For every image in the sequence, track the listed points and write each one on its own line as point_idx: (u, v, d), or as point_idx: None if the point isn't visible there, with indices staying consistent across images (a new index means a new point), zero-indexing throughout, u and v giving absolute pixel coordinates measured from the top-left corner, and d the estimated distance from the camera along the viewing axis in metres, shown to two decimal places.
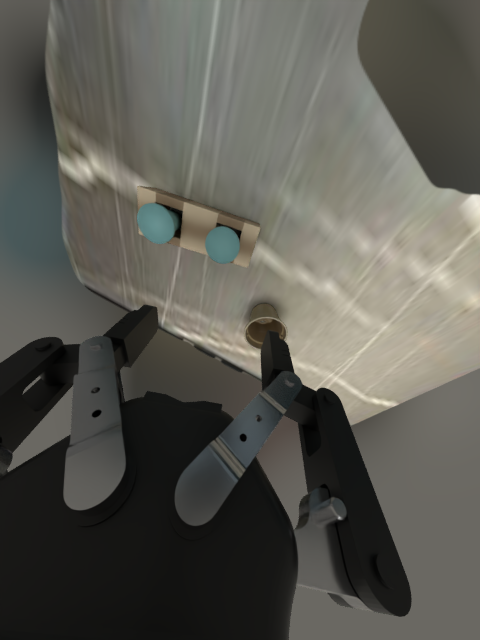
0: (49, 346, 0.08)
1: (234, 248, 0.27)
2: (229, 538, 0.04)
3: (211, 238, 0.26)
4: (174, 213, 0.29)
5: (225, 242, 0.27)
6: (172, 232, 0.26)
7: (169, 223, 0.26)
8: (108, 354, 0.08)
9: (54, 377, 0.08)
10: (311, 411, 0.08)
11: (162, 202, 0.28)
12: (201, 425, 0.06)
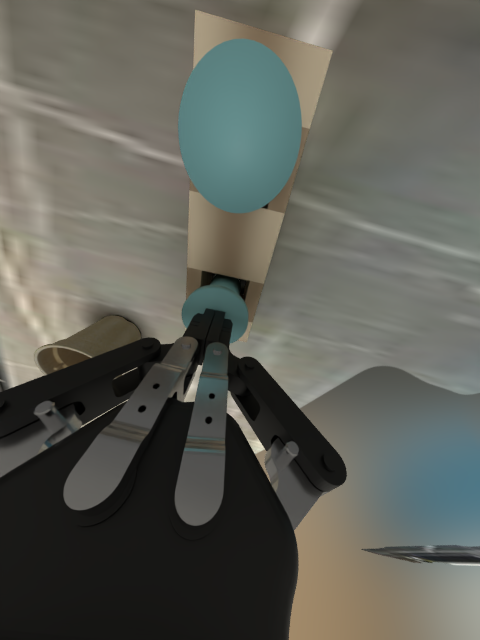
0: (152, 346, 0.09)
1: None
2: (229, 539, 0.04)
3: (226, 302, 0.13)
4: None
5: None
6: (223, 207, 0.09)
7: (246, 201, 0.09)
8: (188, 357, 0.09)
9: (142, 373, 0.09)
10: (233, 376, 0.09)
11: None
12: None
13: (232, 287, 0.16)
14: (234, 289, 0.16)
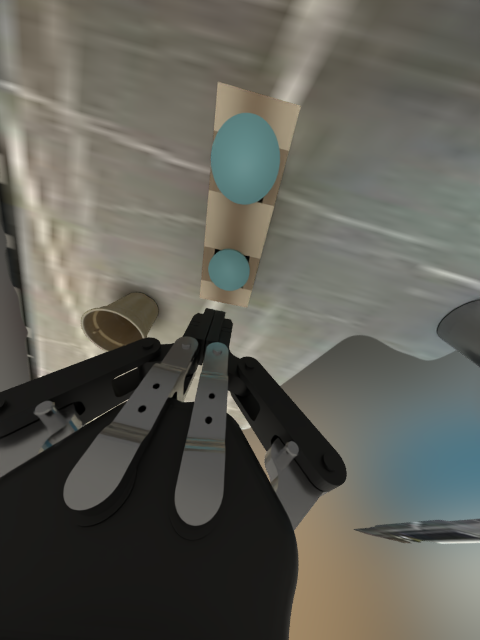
0: (152, 346, 0.09)
1: (228, 285, 0.23)
2: (229, 538, 0.04)
3: (236, 258, 0.21)
4: None
5: (233, 275, 0.23)
6: (234, 201, 0.15)
7: (248, 197, 0.15)
8: (187, 357, 0.09)
9: (142, 373, 0.09)
10: (233, 376, 0.09)
11: None
12: None
13: None
14: None
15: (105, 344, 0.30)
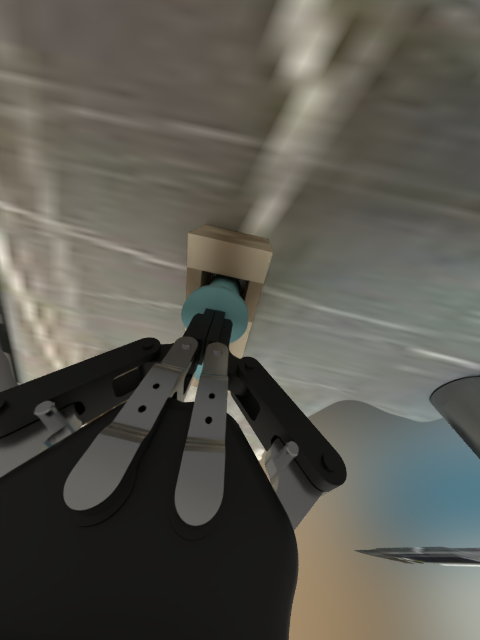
0: (152, 346, 0.09)
1: None
2: (229, 538, 0.04)
3: None
4: None
5: None
6: None
7: None
8: (188, 357, 0.09)
9: (142, 373, 0.09)
10: (233, 376, 0.09)
11: (249, 291, 0.17)
12: None
13: None
14: None
15: None
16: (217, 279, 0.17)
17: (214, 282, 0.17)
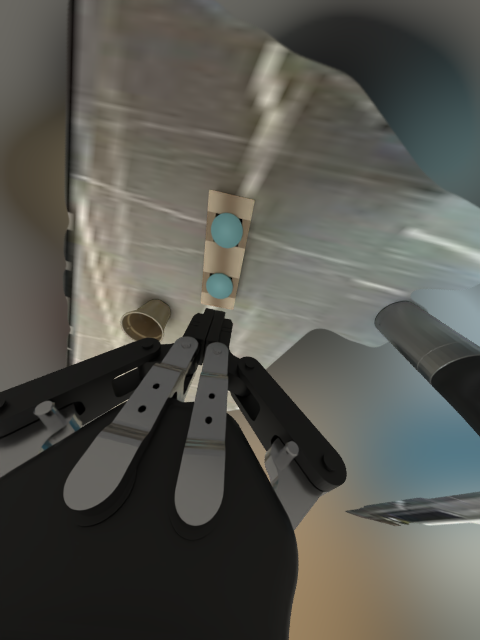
0: (152, 346, 0.09)
1: (219, 295, 0.36)
2: (229, 538, 0.04)
3: (223, 279, 0.34)
4: None
5: (222, 289, 0.35)
6: (222, 246, 0.30)
7: (229, 245, 0.30)
8: (187, 357, 0.09)
9: (143, 373, 0.09)
10: (233, 376, 0.09)
11: (242, 226, 0.29)
12: None
13: None
14: None
15: (134, 337, 0.42)
16: None
17: None
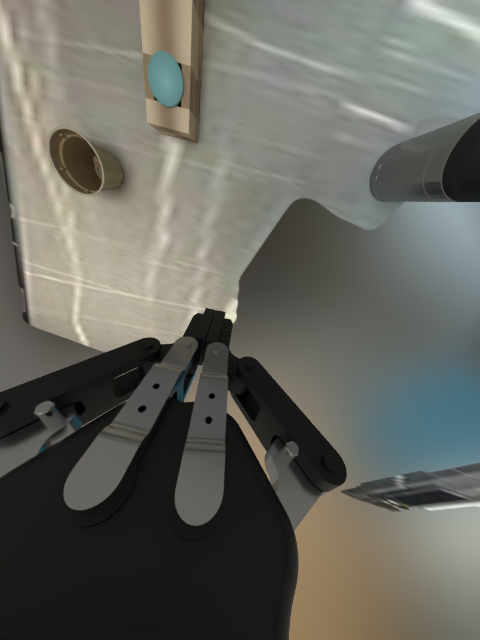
0: (152, 346, 0.09)
1: (167, 98, 0.28)
2: (229, 538, 0.04)
3: (169, 61, 0.26)
4: None
5: (169, 84, 0.27)
6: None
7: None
8: (188, 357, 0.09)
9: (142, 373, 0.09)
10: (233, 376, 0.09)
11: None
12: None
13: None
14: None
15: (71, 184, 0.34)
16: None
17: None
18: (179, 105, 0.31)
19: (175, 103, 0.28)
